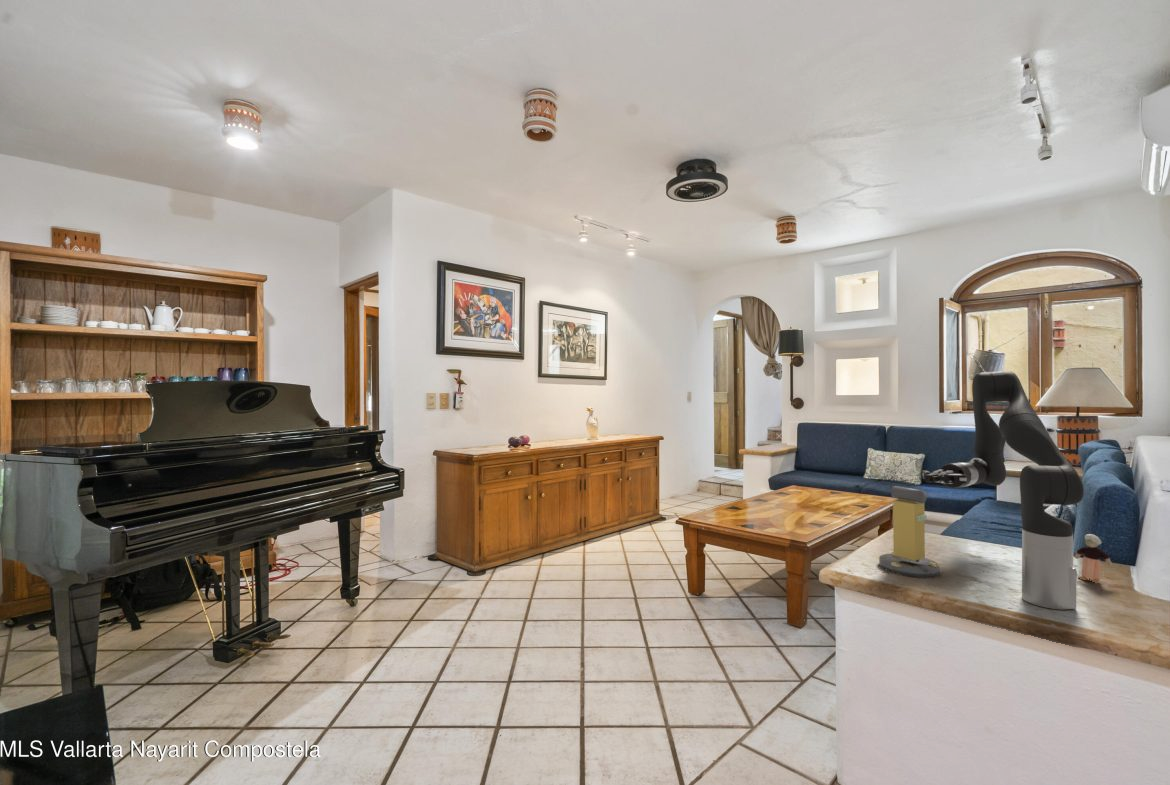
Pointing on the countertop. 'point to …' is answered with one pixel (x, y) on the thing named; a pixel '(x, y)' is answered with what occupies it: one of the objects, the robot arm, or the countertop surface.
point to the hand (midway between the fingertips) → (927, 478)
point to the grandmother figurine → (1092, 558)
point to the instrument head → (909, 523)
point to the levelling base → (910, 566)
